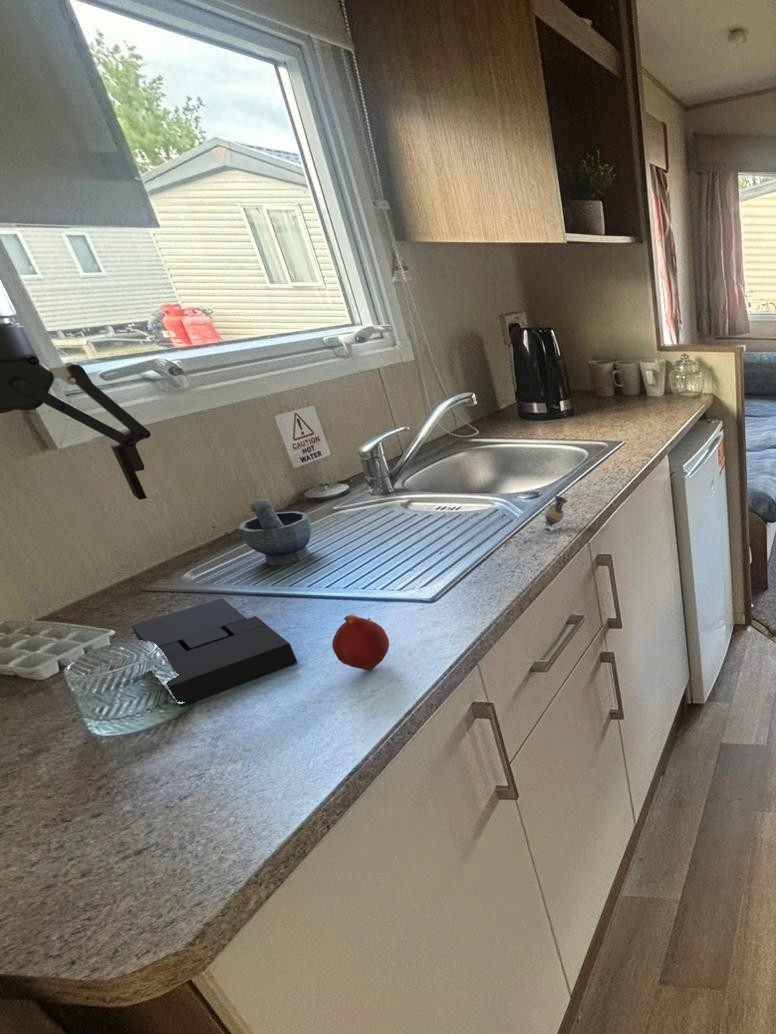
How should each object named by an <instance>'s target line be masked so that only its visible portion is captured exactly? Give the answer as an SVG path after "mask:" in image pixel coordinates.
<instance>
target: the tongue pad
mask: <svg viewBox="0 0 776 1034" xmlns="http://www.w3.org/2000/svg"><path fill="white" fill-rule="evenodd" d="M245 619H248V618H247V617H246V616H245V615H243V614H242V612H240V611H239V610H237V609H236V608H235V607H233V606H232V605H231V604H230V603H229V602H228V601H226V599H224V598H218V599H215V600H211V601H208V602H205V603H202V604H201V603H200V604H197V605H195V606H191V607H188V608H184V609H181V610H178V611H175V612H171V613H167V614H164V615H161V616H158V617H155V618H151V619H147V620H144V621H141V622H138V623H134V624H131V625H130V626H131V628H132V630H133V632H134V634H135V636H136V638H137V640H138V641H139V640H143V641H150V642H153V643H155V644H156V645H157V646H158V647H161V646H165V645H168V644H171V643H174V642H178V643H179V644H180V645H181V646H182V647H183V648H184V649H185V650H186V651H189V650H192V649H195V648H198V647H201V646H204V645H207V644H210V643H213V642H216V641H219V640H222V639H225V638H228V637H230V636H229V634H228V632H227V630H226V627H225V626H226V625H229V624H232V623H235V622H239V621H242V620H245Z"/></svg>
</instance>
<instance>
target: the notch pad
mask: <svg viewBox="0 0 776 1034" xmlns="http://www.w3.org/2000/svg"><path fill="white" fill-rule="evenodd" d="M225 627H226V630H227V632H228V634H229V636H230V637H228V638H225V639H222V640H219V641H216V642H213V643H210V644H207V645H204V646H201V647H198V648H195V649H192V650H189V651H186V650H185V649H184V648H183V647H182V646H181V645H180V644H179V643H178V642H174V643H171V644H168V645H165V646H161V647H159V648H160V649H161V650H162V651H163V652H164V654H165V656H166V657H167V659H168V661H169V663H170V664H171V666H172V668H173V669H174V671H176V673H177V674H179V676H177V677H176V678H173V679H172V680H170V681H168V682H167V685H168V687H169V689H170V690H171V692H172V694H173V696H174V697H175V699H176V700H177V702H179V701H180V702H182V701H183V702H185V703H183V704H180V705H179V704H178V703H177V702H176V704H177V705H178V706H179V707H180V708H182V707H185V706H188V705H190V704H193V703H196V702H198V701H201V700H203V699H205V698H209V697H212V696H214V695H216V694H219V693H222V692H225V691H227V690H229V689H233V688H234V687H238V686H240V685H242V684H245V683H247V682H251V681H253V680H256V679H259V678H261V677H263V676H266V675H269V674H272V673H274V672H277V671H279V670H282V669H285V668H287V667H290V666H292V665H293V666H294V665H295V664H297V663H298V660H297V657H296V655H295V653H294V651H293V648H292V645H291V643H290V642H289V641H287V640H286V639H285V638H284V637H282V636H281V635H280V634H279V633H278V632H276V631H275V630H274V629H273V628H271V627H270V626H269V625H268V624H267V623H265V622H264V621H263V620H262V619H260V618H259V617H258V616H257V615H255V616H252V617H248V618H247V619H245V620H242V621H239V622H235V623H232V624H229V625H226V626H225ZM175 699H173V700H174V701H175Z"/></svg>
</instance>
